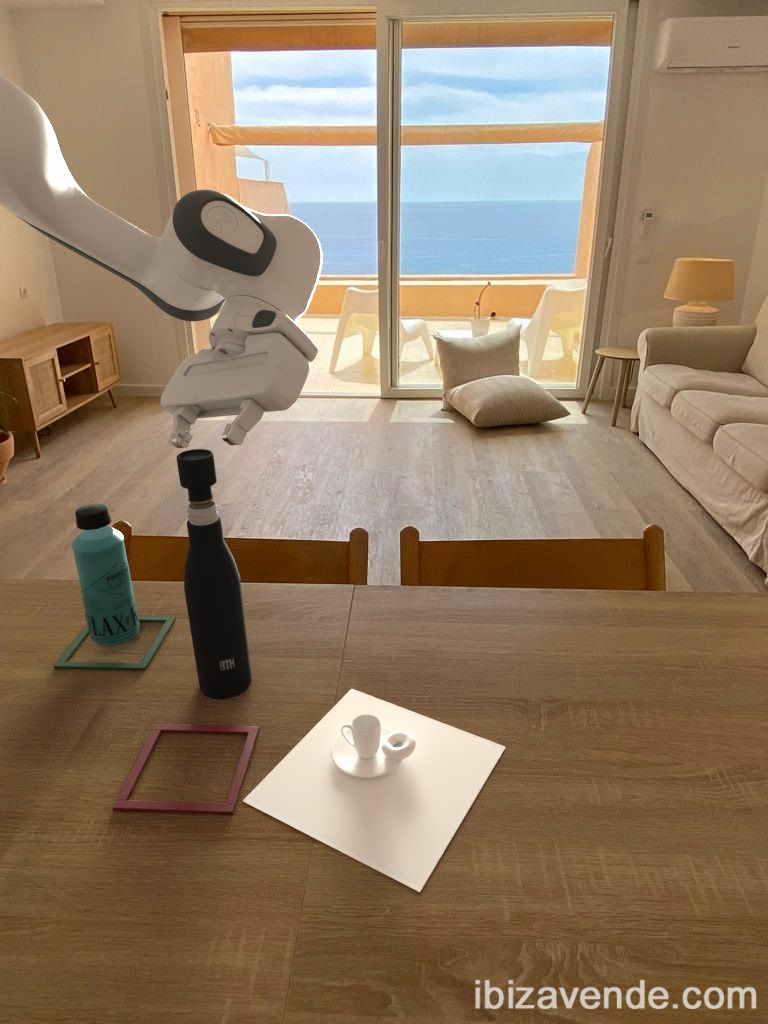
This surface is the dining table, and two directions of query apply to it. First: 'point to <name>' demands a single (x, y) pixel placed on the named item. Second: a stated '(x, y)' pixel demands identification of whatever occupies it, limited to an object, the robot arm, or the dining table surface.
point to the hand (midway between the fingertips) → (202, 444)
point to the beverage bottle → (104, 577)
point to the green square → (116, 666)
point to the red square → (188, 807)
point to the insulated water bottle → (212, 586)
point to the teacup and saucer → (379, 785)
